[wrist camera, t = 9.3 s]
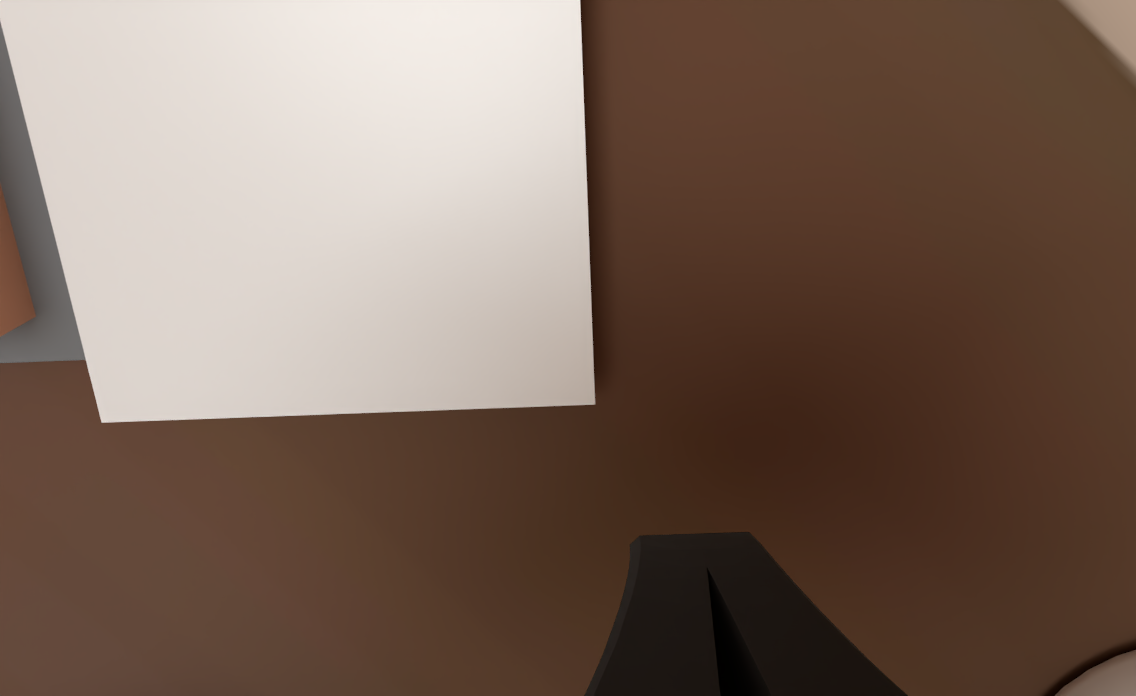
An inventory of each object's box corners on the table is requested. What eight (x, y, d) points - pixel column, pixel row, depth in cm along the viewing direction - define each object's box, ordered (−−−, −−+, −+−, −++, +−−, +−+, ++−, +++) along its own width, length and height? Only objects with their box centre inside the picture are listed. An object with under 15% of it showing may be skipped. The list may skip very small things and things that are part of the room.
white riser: (593, 375, 19) (595, 405, 18) (136, 392, 20) (101, 422, 18) (574, -150, 16) (574, -165, 14) (16, -121, 16) (-39, -133, 15)
